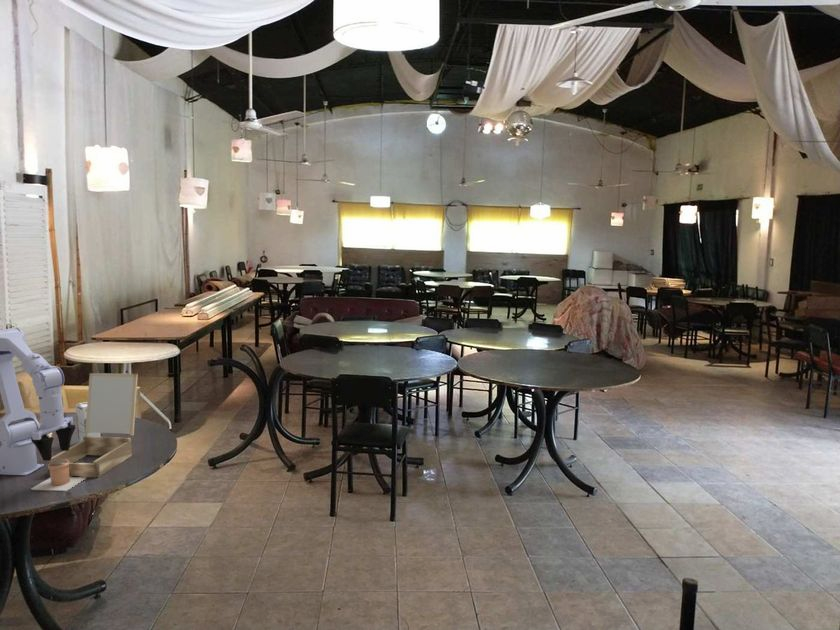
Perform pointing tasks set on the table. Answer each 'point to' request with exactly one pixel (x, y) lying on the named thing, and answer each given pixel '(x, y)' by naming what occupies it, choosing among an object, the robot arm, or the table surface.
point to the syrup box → (83, 421)
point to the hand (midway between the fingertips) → (56, 455)
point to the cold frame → (109, 447)
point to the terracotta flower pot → (59, 472)
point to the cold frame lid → (111, 403)
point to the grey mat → (48, 487)
